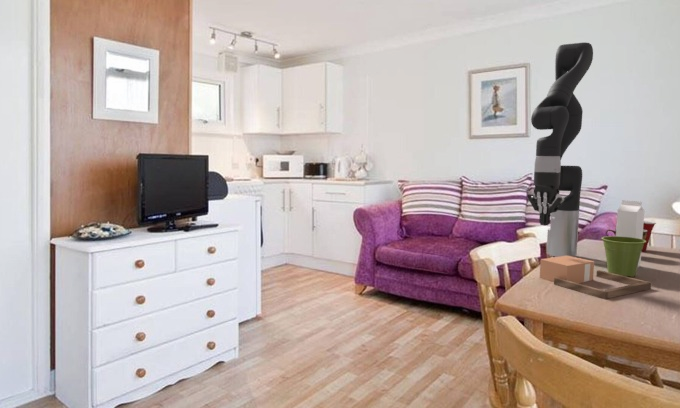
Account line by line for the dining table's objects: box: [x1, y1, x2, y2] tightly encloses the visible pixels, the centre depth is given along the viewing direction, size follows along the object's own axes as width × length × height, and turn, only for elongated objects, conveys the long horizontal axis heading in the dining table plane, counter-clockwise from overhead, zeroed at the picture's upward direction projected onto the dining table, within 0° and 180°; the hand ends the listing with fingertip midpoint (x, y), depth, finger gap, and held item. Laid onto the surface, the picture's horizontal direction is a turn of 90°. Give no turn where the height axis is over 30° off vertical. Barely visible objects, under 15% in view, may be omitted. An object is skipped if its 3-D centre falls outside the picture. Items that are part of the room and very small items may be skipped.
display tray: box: [553, 269, 652, 300], centre depth 129 cm, size 15×20×2 cm
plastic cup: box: [641, 220, 657, 252], centre depth 179 cm, size 11×11×12 cm
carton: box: [539, 256, 595, 284], centre depth 137 cm, size 9×12×6 cm
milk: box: [615, 199, 645, 268], centre depth 152 cm, size 6×6×22 cm
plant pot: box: [600, 235, 646, 278], centre depth 142 cm, size 12×12×11 cm
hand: (544, 225), depth 145 cm, fingers closed
